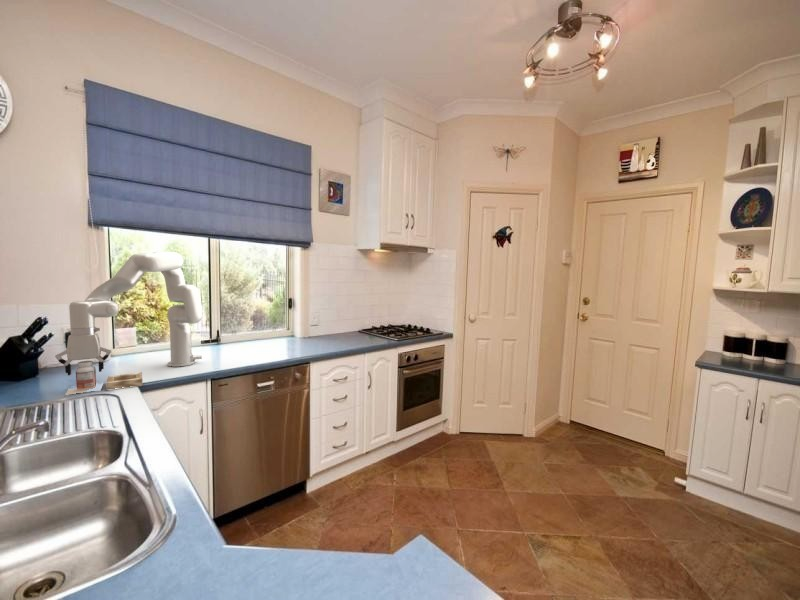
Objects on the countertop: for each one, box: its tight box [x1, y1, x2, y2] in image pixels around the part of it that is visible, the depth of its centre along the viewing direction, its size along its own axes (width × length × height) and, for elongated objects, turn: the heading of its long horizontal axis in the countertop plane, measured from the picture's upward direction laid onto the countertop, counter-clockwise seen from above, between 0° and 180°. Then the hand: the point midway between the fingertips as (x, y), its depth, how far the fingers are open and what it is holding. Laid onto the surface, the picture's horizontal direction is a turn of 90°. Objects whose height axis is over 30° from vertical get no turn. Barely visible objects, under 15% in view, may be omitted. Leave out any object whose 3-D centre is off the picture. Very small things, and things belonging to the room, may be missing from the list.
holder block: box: [105, 372, 143, 390], centre depth 156 cm, size 12×12×3 cm
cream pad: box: [64, 388, 89, 396], centre depth 149 cm, size 11×11×1 cm
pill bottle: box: [75, 360, 97, 390], centre depth 149 cm, size 6×6×11 cm
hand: (85, 372), depth 148 cm, fingers open, 9 cm apart
